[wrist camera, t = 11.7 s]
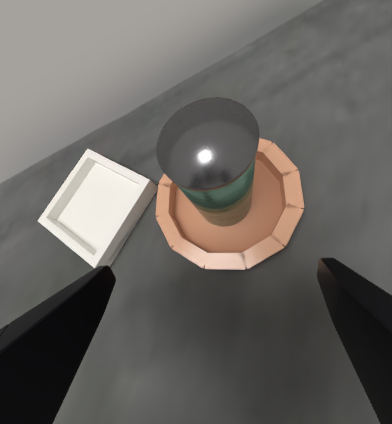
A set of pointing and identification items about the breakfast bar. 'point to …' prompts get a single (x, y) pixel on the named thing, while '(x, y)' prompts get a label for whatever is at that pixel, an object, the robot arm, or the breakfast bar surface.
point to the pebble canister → (212, 157)
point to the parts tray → (98, 208)
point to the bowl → (244, 230)
